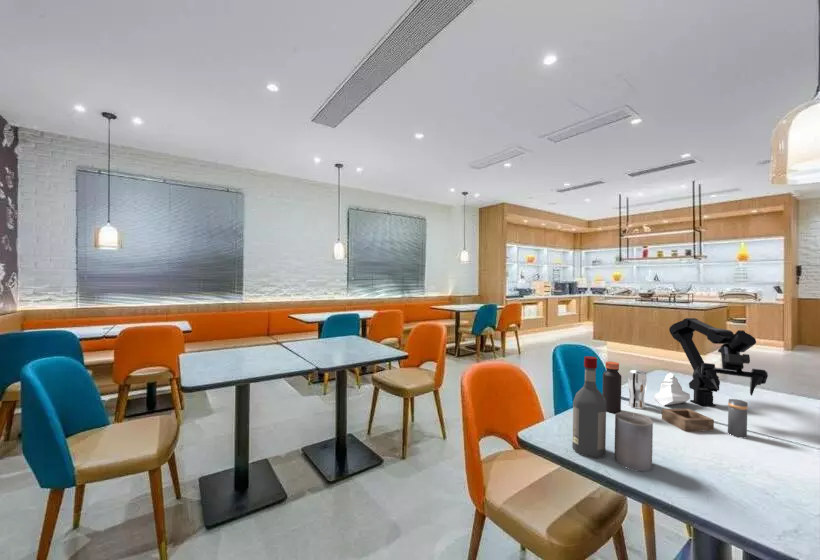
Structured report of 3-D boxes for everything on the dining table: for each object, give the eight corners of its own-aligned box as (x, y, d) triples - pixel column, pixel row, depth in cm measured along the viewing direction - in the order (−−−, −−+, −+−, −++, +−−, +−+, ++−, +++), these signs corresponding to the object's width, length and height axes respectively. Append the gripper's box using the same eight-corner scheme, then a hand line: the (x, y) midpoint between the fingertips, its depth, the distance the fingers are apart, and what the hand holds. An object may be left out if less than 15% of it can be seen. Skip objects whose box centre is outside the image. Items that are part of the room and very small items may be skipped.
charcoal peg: (723, 431, 130) (724, 399, 130) (736, 431, 130) (737, 398, 130) (737, 438, 125) (738, 404, 125) (751, 438, 125) (751, 403, 125)
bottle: (616, 407, 153) (617, 361, 152) (624, 413, 146) (625, 365, 145) (599, 407, 153) (600, 360, 153) (606, 413, 146) (607, 364, 146)
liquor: (605, 448, 116) (607, 356, 116) (604, 460, 108) (606, 362, 108) (574, 441, 121) (576, 353, 120) (571, 452, 113) (573, 358, 113)
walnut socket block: (661, 419, 141) (662, 408, 141) (688, 418, 142) (688, 408, 142) (685, 431, 130) (685, 420, 130) (713, 430, 131) (713, 419, 131)
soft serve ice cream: (646, 404, 161) (641, 372, 165) (670, 404, 166) (665, 372, 169) (674, 407, 150) (668, 372, 153) (699, 406, 154) (693, 372, 158)
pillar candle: (617, 451, 114) (618, 405, 114) (654, 462, 108) (654, 412, 108) (611, 464, 107) (612, 414, 106) (650, 476, 100) (651, 423, 100)
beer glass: (645, 410, 149) (646, 375, 149) (626, 406, 154) (627, 372, 153) (647, 406, 155) (647, 371, 155) (628, 402, 159) (629, 368, 159)
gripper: (702, 342, 143) (704, 376, 134) (767, 348, 132) (774, 385, 123) (700, 358, 150) (701, 391, 141) (761, 365, 139) (768, 401, 130)
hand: (734, 392), depth 133 cm, fingers open, 9 cm apart
